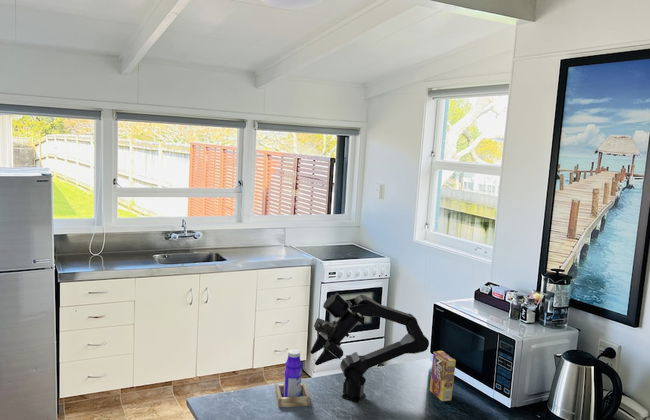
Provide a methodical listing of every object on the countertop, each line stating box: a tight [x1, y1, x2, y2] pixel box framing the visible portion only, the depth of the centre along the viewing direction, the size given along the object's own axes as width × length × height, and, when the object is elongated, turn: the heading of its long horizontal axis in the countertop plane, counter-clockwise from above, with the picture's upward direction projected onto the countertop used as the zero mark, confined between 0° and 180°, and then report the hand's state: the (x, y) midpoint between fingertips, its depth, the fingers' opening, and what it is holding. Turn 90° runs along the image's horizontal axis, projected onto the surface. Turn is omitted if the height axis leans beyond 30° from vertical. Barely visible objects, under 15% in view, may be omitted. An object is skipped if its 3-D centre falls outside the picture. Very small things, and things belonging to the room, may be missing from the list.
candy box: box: [429, 350, 457, 402], centre depth 200 cm, size 9×4×15 cm, turn 20°
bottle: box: [283, 349, 303, 397], centre depth 191 cm, size 7×6×17 cm
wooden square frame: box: [274, 382, 311, 408], centre depth 192 cm, size 11×11×3 cm
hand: (313, 358), depth 191 cm, fingers open, 9 cm apart
